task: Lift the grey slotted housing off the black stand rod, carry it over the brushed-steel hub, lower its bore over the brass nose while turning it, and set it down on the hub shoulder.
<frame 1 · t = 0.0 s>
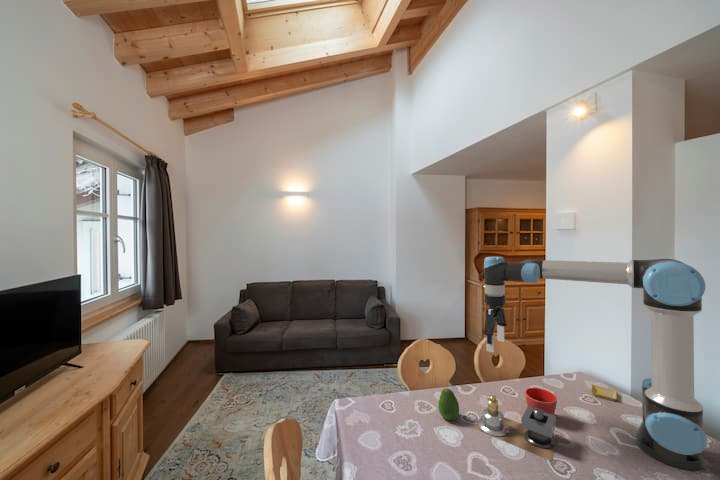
hand: (495, 346, 118), 28 cm above the table, fingers open, 13 cm apart
flower pot: (541, 419, 115), on the table
board: (514, 434, 106), on the table
stand: (539, 439, 102), resting on board
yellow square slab: (603, 396, 129), on the table
fruit: (449, 419, 116), on the table
grey slotted housing: (538, 425, 102), point 6 cm above the table, touching stand
hub: (493, 426, 110), resting on board
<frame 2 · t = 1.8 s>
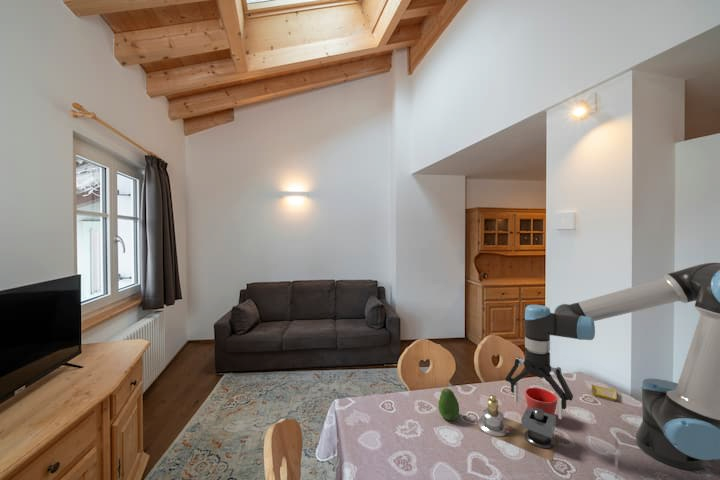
hand: (537, 409, 102), 12 cm above the table, fingers open, 13 cm apart
nothing on the table moved.
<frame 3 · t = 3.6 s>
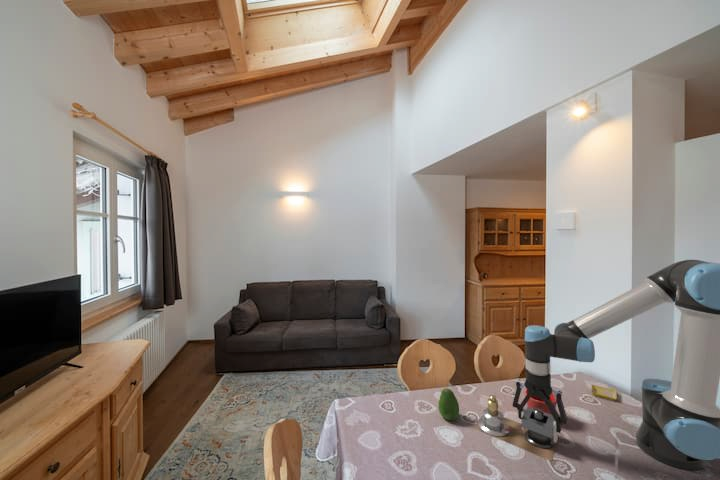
hand: (539, 433, 102), 3 cm above the table, fingers closed on grey slotted housing, 9 cm apart
grey slotted housing: (539, 425, 102), point 6 cm above the table, touching gripper, stand
everything else where it was.
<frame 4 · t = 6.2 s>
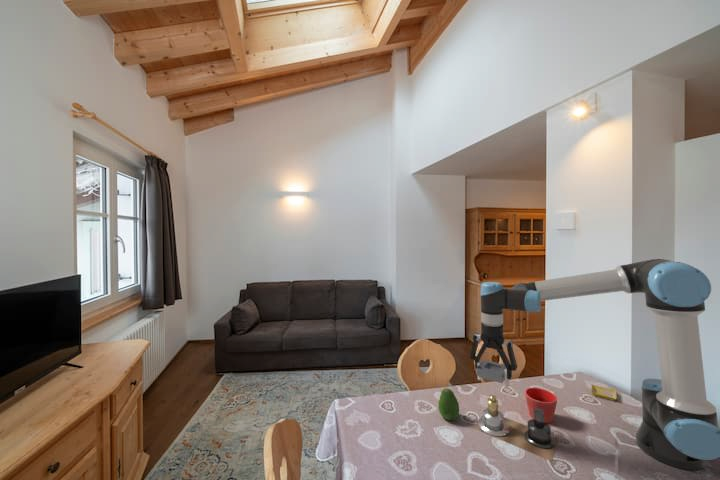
hand: (492, 382, 109), 18 cm above the table, fingers closed on grey slotted housing, 9 cm apart
grey slotted housing: (492, 374, 109), point 21 cm above the table, touching gripper
everything else where it was.
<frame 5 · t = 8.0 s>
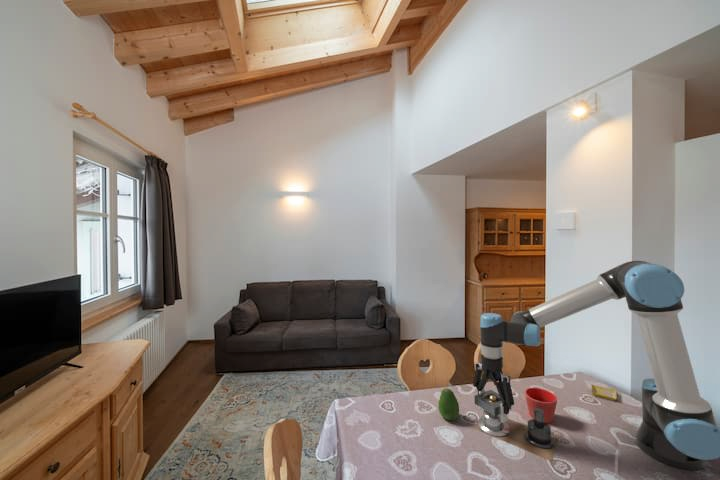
hand: (492, 413, 110), 6 cm above the table, fingers closed on grey slotted housing, 9 cm apart
grey slotted housing: (492, 406, 109), point 9 cm above the table, touching gripper
everything else where it was.
when the fingers open (4 cm above the table, at t = 9.3 s): grey slotted housing stays where it is, resting on hub.
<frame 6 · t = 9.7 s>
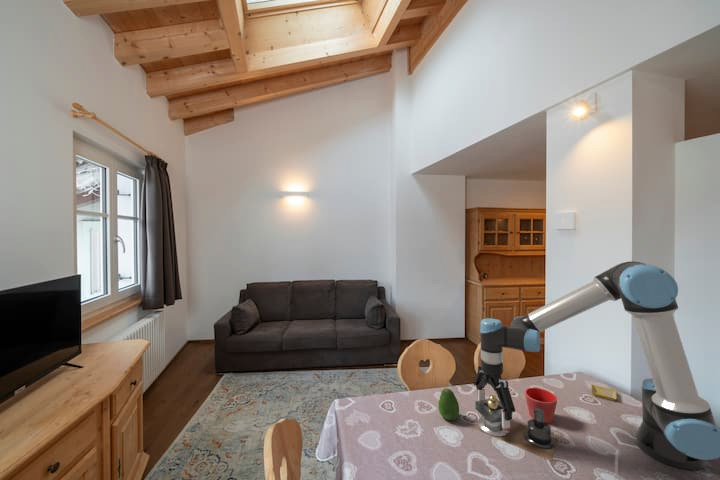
hand: (493, 416, 109), 5 cm above the table, fingers open, 13 cm apart
grey slotted housing: (493, 413, 109), point 6 cm above the table, touching hub
everything else where it was.
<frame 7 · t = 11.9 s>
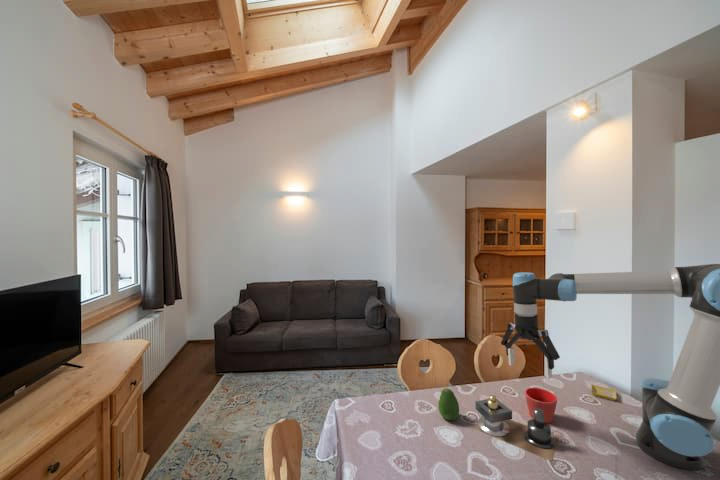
hand: (529, 370, 108), 22 cm above the table, fingers open, 13 cm apart
nothing on the table moved.
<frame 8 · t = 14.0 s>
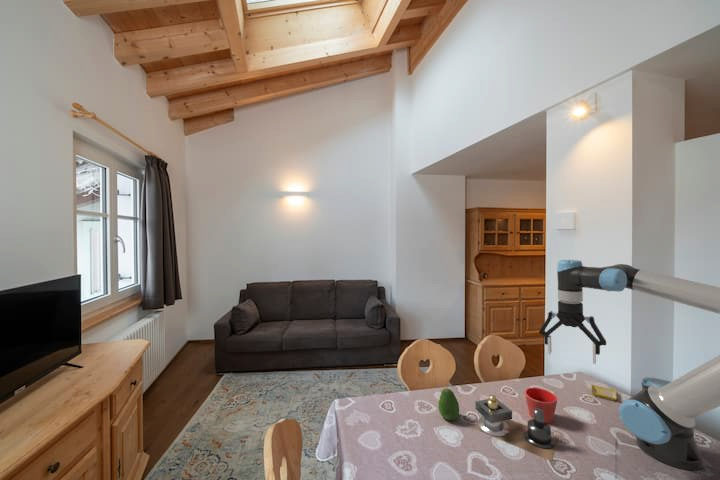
hand: (571, 357, 108), 27 cm above the table, fingers open, 13 cm apart
nothing on the table moved.
at the end: grey slotted housing 0.1 cm off-centre on the hub, point 5.0 cm above the hub's base; grey slotted housing tilted 0°; the gripper is holding nothing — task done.
